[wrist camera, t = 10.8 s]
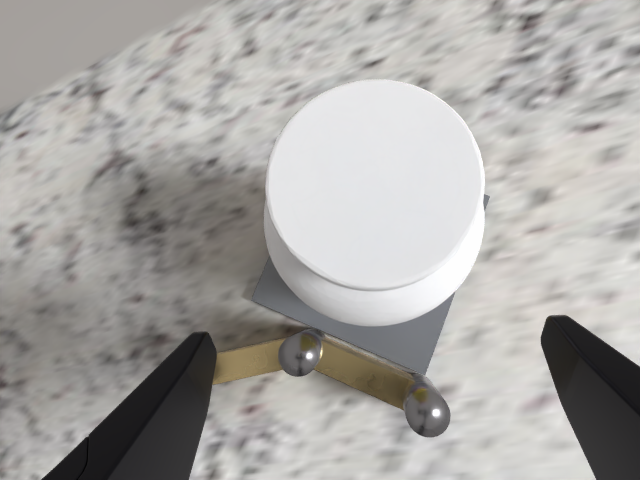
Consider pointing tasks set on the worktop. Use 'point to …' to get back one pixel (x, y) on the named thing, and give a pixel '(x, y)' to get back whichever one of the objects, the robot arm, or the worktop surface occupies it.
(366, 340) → the slate coaster
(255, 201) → the worktop surface
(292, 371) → the bent rail
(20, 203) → the worktop surface
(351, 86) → the supplement bottle
